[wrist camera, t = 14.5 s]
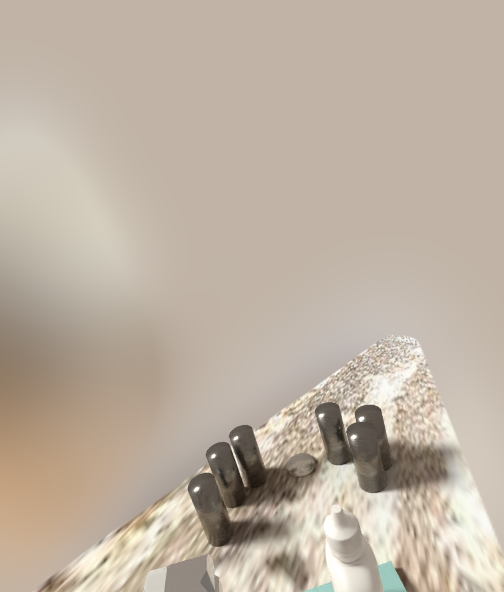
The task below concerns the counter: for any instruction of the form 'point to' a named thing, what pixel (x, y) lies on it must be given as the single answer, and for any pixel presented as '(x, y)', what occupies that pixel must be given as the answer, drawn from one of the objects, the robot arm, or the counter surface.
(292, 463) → the grey flat disc
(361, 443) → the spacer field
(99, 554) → the counter surface
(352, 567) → the eye dropper bottle
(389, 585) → the pad
